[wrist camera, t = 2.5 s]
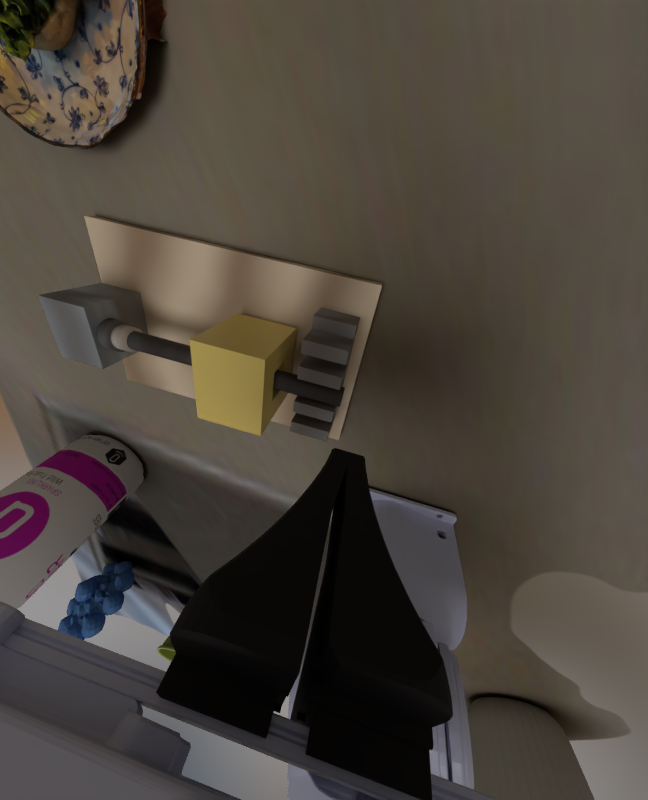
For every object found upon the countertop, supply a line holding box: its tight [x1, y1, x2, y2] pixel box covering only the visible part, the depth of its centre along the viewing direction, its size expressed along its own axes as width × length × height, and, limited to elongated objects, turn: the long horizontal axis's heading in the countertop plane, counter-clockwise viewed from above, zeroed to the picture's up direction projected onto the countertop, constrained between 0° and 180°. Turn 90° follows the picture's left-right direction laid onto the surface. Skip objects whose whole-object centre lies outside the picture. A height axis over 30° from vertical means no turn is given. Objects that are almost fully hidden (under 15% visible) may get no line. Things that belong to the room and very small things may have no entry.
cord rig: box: [38, 216, 383, 442], centre depth 18 cm, size 19×12×5 cm, turn 80°
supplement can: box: [0, 435, 144, 609], centre depth 26 cm, size 8×8×15 cm
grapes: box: [58, 561, 134, 640], centre depth 43 cm, size 12×7×12 cm, turn 114°
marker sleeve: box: [189, 313, 296, 436], centre depth 17 cm, size 4×5×5 cm
